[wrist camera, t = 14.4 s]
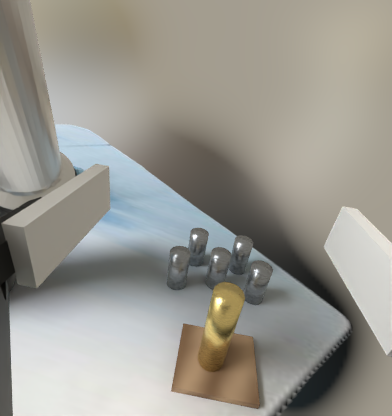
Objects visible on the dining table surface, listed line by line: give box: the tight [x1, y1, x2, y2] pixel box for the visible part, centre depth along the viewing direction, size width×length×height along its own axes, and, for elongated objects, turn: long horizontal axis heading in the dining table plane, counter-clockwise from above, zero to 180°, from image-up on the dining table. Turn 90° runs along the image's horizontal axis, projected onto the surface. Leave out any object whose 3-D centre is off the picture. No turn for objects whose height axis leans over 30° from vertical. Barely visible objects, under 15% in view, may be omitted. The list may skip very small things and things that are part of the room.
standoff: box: [198, 282, 245, 372], centre depth 34 cm, size 4×4×14 cm
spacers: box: [167, 228, 273, 305], centre depth 53 cm, size 20×12×8 cm, turn 84°
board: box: [171, 324, 260, 409], centre depth 38 cm, size 12×10×1 cm
